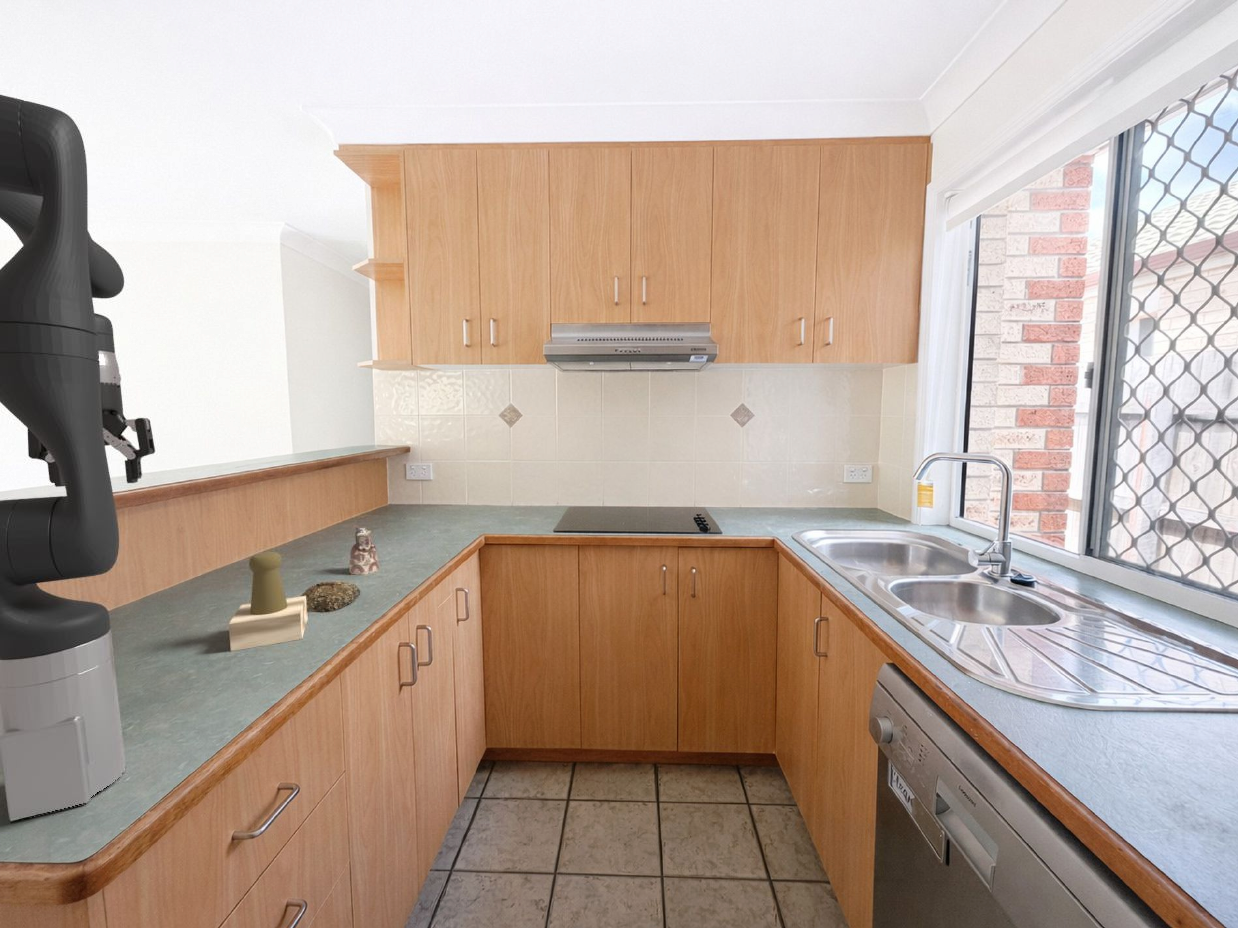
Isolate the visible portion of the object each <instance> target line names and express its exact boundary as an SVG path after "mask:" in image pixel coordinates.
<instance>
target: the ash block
mask: <svg viewBox="0 0 1238 928" xmlns="http://www.w3.org/2000/svg"><path fill="white" fill-rule="evenodd" d="M286 601H287V605H288V607H287V608H285V609H284V610H281V611H279V612H275V613H271V614H266V615H253V614H251V613H250V610H251V602H250V603H244V604H243V603H242V604H241V605H240V606H239V608H238V610H237V611H236V612H235V614H234V615H233V617H232V618H231V619H230V621H229V623H228V634H229V643H230V652H234V651H240V650H246V649H252V648H258V647H263V646H269V645H275V644H280V643H288V642H294V641H300V640H303V637H304V633H305V630H306V627H307V622H308V619H309V616H308V612H307V602H306V596H301V595H299V596H294V597H286Z"/></svg>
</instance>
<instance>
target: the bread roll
mask: <svg viewBox="0 0 1238 928" xmlns="http://www.w3.org/2000/svg"><path fill="white" fill-rule="evenodd" d="M360 594H361V590H360V588H359V587H358V586H357V585H356V584H354V583H350V582H347V581H342V580H341V581H339V580H336V581H335V580H334V581H322V582H318V583H316V584H314V585H312V586H310V587H308V588H307V589H306V590H305V591H304V592H303V593H302V594H301V595H300V596H306V602H307V613H314V612H315V613H327V612H328V613H330V612H336V611H338V610H340V609H342V608H345V607H346V606H348V605H350V604H351V603H353V602H355V600H357V598H358V597H360Z"/></svg>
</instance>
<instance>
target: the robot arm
mask: <svg viewBox="0 0 1238 928" xmlns="http://www.w3.org/2000/svg"><path fill="white" fill-rule="evenodd" d="M83 140H84V139H83V137H82V134H81V131H80V129H79V127H78V125H77V124H76V122H75V121H74V120H73V118H72V117H71V116H70V115H69V114H67V113H65V112H64V111H62V110H60V109H57V108H54V107H52V106H48V105H44V104H42V103H41V104H40V103H36V102H32V101H28V100H24V99H21V98H16V97H12V96H7V95H4V94H0V220H2V221H3V222H4V223H6V224H7V225H8V226H9V227H10V229H11V230H12V231H13V233H14V234H15V235H16V236H17V238H18V239H19V241H20V242H21V244H22V245H23V246H21V248H19V250H18V251H17V252H16V253H15V254H14V255H13V256H12V257H11V258H10V259H9V261H7V262H6V263H5V264H4V265H3V266H2V267H1V268H0V404H1V405H2V406H3V407H4V408H6V410H8V411H9V412H10V413H11V414H12V415H13V416H15V418H16V419H18V421H20V422H21V423H22V424H23V425H24V426H25V427H26V428H27V450H28V451H27V454H28V457H29V458H30V459H35V460H41V461H44V462H45V463H46V464H47V469H48V472H47V473H48V479H49V482H50V483H51V484H54V486H55V488H59V487H60V488H61V487H64V488H65V493H66V495H64V496H63V495H62V496H61V495H59V496H48V497H47V496H43V497H32V498H31V497H30V498H17V499H16V498H13V499H2V500H1V499H0V762H1V768H2V770H1V771H2V777H3V783H4V790H5V797H6V798H5V799H6V808H7V813H8V820H9V819H13V818H18V817H19V818H21V817H24V816H30V815H34V814H35V815H36V814H41V813H45V812H50V813H53V812H52V811H54V812H56V811H55V810H58V811H61V810H60V809H62V810H65V809H64V808H66V809H69V808H68V807H70V808H73V807H72V806H74V807H76V806H75V805H78V806H80V805H79V804H82V805H84V804H83V803H86V804H87V801H89V799H90V798H91V797H92V796H93V795H94V796H96V795H97V794H96V793H97V792H99V791H101V790H102V791H104V790H105V789H104V788H106V787H107V786H109V785H110V784H111V785H113V784H114V783H115V782H116V781H118V780H119V779H120V778H121V777H122V776H123V774H124V773H123V772H125V771H126V768H125V767H126V756H125V747H124V740H123V738H124V737H123V732H122V731H123V730H122V723H121V722H122V721H121V713H120V704H119V695H118V686H117V678H116V667H115V659H114V648H113V639H112V631H111V620H110V613H109V611H108V609H107V607H106V606H104V605H103V604H100V603H97V602H93V601H87V600H77V599H70V598H65V597H61V596H57V595H54V594H53V593H49V592H47V591H45V590H43V589H41V588H40V587H39V585H38V584H41V583H42V584H43V583H50V582H57V581H64V580H65V581H66V580H72V579H73V580H75V579H82V578H88V577H89V578H90V577H96V576H100V575H103V574H106V573H108V572H109V571H111V570H112V569H113V567H114V566H115V564H116V562H117V560H118V555H119V550H120V532H119V529H120V528H119V524H118V523H119V521H118V515H117V508H116V504H115V503H116V502H115V498H114V497H115V496H114V492H113V486H112V480H111V474H110V469H109V464H108V457H107V452H106V446H111V447H112V448H113V449H115V450H117V451H118V452H119V453H120V454H122V455H123V457H126V460H124V465H125V466H124V467H125V477H126V483H127V484H136V483H138V481H139V479H141V478H142V476H143V471H142V464H141V463H142V462H141V461H142V458H144V457H147V456H150V455H154V454H155V452H156V446H155V442H154V437H153V435H154V434H153V430H152V425H151V421H150V419H149V418H146V417H137V418H133V419H130V418H129V419H127V418H126V417H125V415H124V407H123V405H124V404H123V396H122V386H121V382H122V377H121V373H120V368H119V364H118V360H117V357H116V348H115V339H114V328H113V324H112V321H111V320H110V318H108V317H107V316H106V315H102V314H99V313H95V308H94V302H93V301H94V300H93V299H111V298H115V297H117V296H118V295H119V294H120V293H121V292H122V291H123V289H124V287H125V277H124V273H123V270H122V268H121V266H120V265H119V263H118V262H117V260H116V259H115V257H114V256H113V255H112V254H111V253H110V252H109V251H108V250H106V249H105V248H104V247H103V246H101V245H100V244H98V242H96V241H95V240H94V239H93V238H92V236H91V234H90V232H89V230H88V229H89V228H88V227H89V226H88V225H89V224H88V223H89V222H88V221H89V220H88V218H89V216H88V213H89V212H88V207H89V206H88V201H89V200H88V198H89V197H88V193H89V192H88V189H89V188H88V165H87V155H86V148H85V145H84V141H83ZM128 427H130V429H131V431H133V432H134V433H136V437H137V443H138V448H139V449H138V448H136V447H135V446H134V445H133V444H132V442H131V441H129V439H127V438H126V437H125V436H124V435H123V433H124V432H125V430H126V429H127V428H128ZM122 773H123V774H122ZM119 777H120V778H119ZM118 778H119V779H118ZM117 779H118V780H117ZM115 780H116V781H115ZM113 782H114V783H113ZM112 783H113V784H112ZM111 785H110V786H111ZM110 786H109V787H110ZM107 788H108V787H107ZM107 788H106V789H107ZM103 789H104V790H103ZM102 791H101V792H102ZM99 793H100V792H99ZM95 794H96V795H95ZM94 796H93V797H94ZM93 797H92V798H93ZM92 798H91V799H92ZM91 799H90V800H91ZM89 802H90V801H89Z"/></svg>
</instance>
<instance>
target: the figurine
mask: <svg viewBox="0 0 1238 928" xmlns="http://www.w3.org/2000/svg"><path fill="white" fill-rule="evenodd" d="M355 529H356V530H355V538H354V539H355V543H354V544H353V546H352V547H351V550H350V552H349V555H350V557H349V566H348V567H349V568H348V570H349V574H350V573H351V574H350V575H352V574H355V575H356V576H358V575H359V576H360V575H361V576H364V575H363V574H365V575H369V574H368V573H370V574H373V573H375V571H376V572H378V571H379V570H380V566H379V560H378V553H377V546H376V545H375V544H374V543H373V540H372V531H371V530H370V529H368V527H367V528H366V527H361V526H359V525H358V526H356V527H355Z"/></svg>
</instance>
